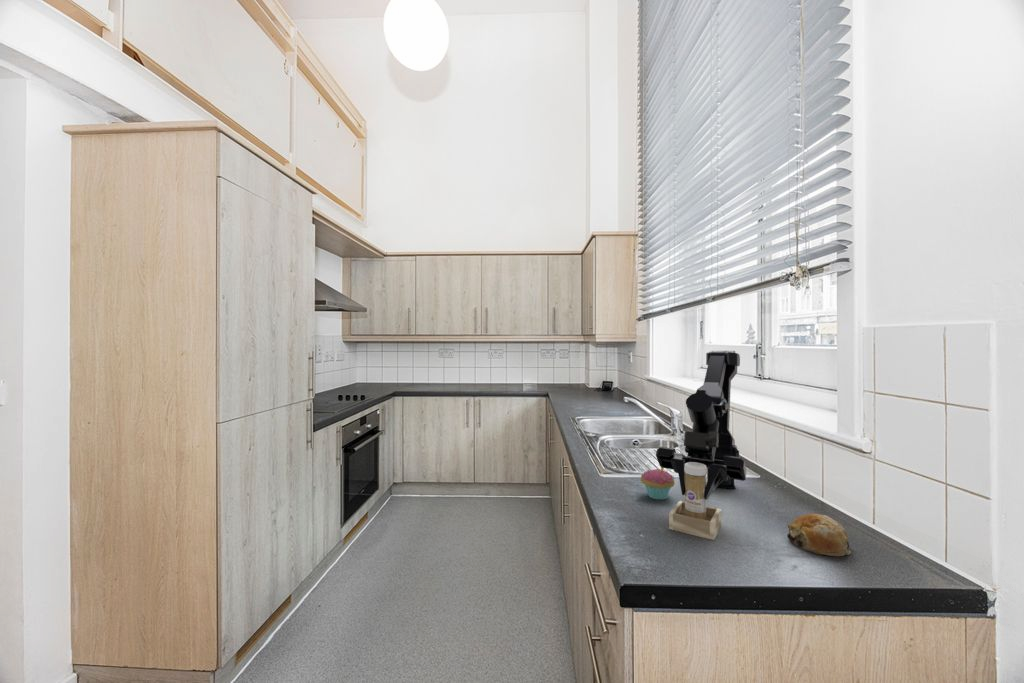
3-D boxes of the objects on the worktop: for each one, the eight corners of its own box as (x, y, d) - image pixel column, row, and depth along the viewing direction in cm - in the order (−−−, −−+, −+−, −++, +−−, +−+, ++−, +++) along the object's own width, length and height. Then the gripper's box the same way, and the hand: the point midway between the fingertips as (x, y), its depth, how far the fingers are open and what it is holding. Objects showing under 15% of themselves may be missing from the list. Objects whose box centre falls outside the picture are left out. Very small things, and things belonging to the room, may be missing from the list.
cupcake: (669, 491, 117) (669, 448, 117) (678, 503, 109) (678, 456, 109) (638, 490, 118) (637, 447, 118) (644, 502, 110) (644, 455, 110)
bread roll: (841, 579, 80) (864, 546, 78) (783, 544, 85) (803, 512, 83) (835, 557, 88) (856, 526, 87) (782, 526, 93) (801, 496, 92)
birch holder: (679, 515, 101) (679, 500, 101) (721, 524, 96) (721, 509, 96) (669, 529, 94) (669, 513, 94) (714, 540, 89) (713, 523, 89)
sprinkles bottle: (682, 525, 94) (682, 465, 94) (687, 518, 98) (687, 460, 98) (704, 530, 92) (704, 468, 92) (709, 522, 96) (708, 463, 95)
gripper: (657, 413, 103) (643, 470, 95) (744, 421, 93) (737, 486, 84) (666, 439, 110) (654, 494, 101) (748, 449, 99) (743, 512, 90)
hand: (694, 496), depth 94 cm, fingers closed on sprinkles bottle, 4 cm apart
